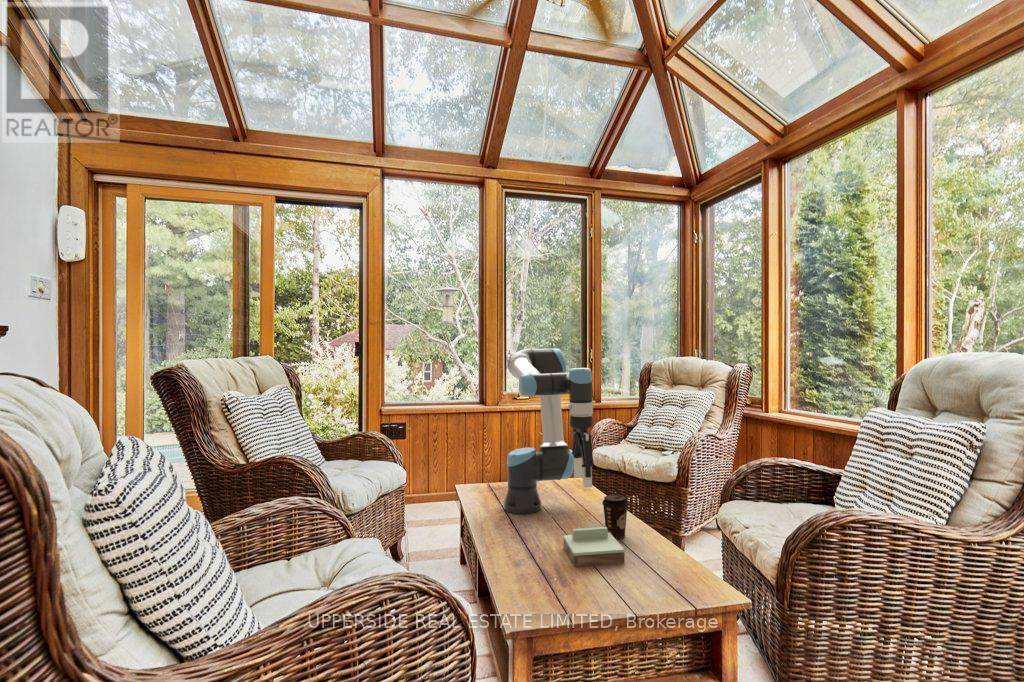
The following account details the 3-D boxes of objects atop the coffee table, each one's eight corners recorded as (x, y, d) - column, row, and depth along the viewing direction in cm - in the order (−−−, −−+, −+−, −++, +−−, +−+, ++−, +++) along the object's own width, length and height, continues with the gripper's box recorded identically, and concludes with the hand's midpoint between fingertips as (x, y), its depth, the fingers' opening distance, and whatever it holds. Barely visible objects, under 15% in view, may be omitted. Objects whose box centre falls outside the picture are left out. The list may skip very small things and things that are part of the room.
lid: (563, 537, 160) (563, 525, 160) (609, 534, 161) (609, 522, 161) (573, 555, 146) (573, 542, 146) (624, 552, 148) (623, 539, 148)
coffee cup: (630, 532, 171) (629, 494, 172) (627, 542, 163) (626, 502, 164) (604, 530, 174) (604, 493, 174) (601, 539, 166) (600, 500, 166)
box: (563, 548, 160) (563, 538, 160) (609, 544, 161) (609, 534, 161) (574, 567, 146) (573, 556, 146) (624, 563, 147) (624, 552, 148)
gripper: (562, 410, 175) (563, 473, 175) (578, 420, 152) (580, 493, 152) (583, 410, 176) (584, 472, 176) (602, 419, 153) (604, 491, 152)
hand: (582, 482), depth 164 cm, fingers open, 11 cm apart
